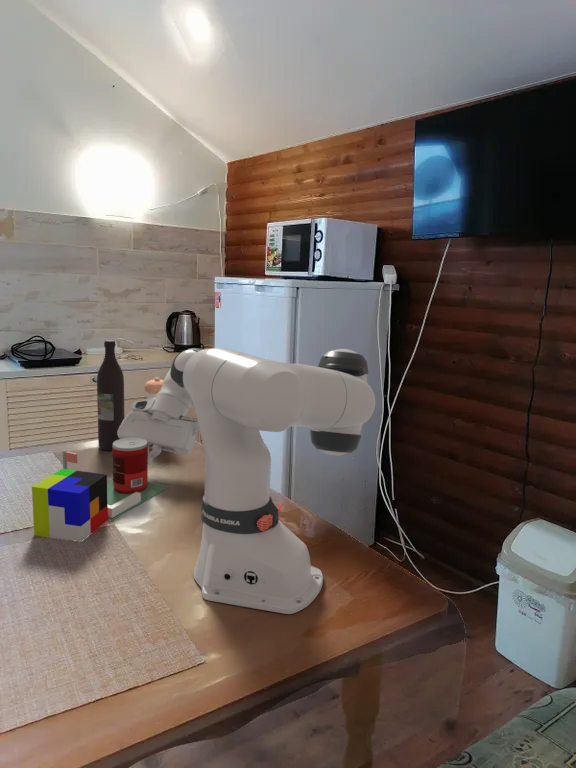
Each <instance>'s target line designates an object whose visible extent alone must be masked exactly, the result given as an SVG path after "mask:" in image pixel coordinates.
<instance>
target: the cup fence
mask: <svg viewBox="0 0 576 768" xmlns="http://www.w3.org/2000/svg"><path fill="white" fill-rule="evenodd" d="M68 462H69V463H72V464H78V454H77V453H76V452H72V451H67V449H64V450H62V469H68ZM139 502H141V493H139V492H135V493H133V494H132V495H130V496H128V497H126V498H124V499H122V500H121V501H119V502H117V503H115V504H113V505H108V504H107V505H108V517H111V518H113V517H115V516H116V515H118V514H120V513H122V512H123V511H125V510H127V509H129V508H130V507H132V506H134V505H136V504H137V503H139Z"/></svg>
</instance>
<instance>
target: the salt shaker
mask: <svg viewBox="0 0 576 768" xmlns="http://www.w3.org/2000/svg"><path fill="white" fill-rule="evenodd" d="M163 381H164V379H160V377H157V376H156V377H154V378H153V379H151V380H147V381H146V383H145V384H144V388H143V389H144V391H145V392H146V394H147V395H146V397H147V398H146V400H148V399H152V398H155V397H156V395H157V393H158V392H159V391H160V390H161V388H162V383H163Z"/></svg>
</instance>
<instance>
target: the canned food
mask: <svg viewBox="0 0 576 768" xmlns="http://www.w3.org/2000/svg"><path fill="white" fill-rule="evenodd" d="M148 452H149V449H148V444H147V441H146V440H144V439H141V438H123V439H119V440H116V441H115V442H113V446H112V451H111V453H112V454H111V455H112V456H111V457H112V479H113V487H114V490H115V491H116V492H118V493H122V494H133V493H135V492H141V491H143V490H145V489H146V487H147V484H148V482H149V480H148V479H149V478H148V477H149V476H148V475H149V472H148V470H149V469H148V468H149V467H148V465H149V464H148V454H149V453H148Z"/></svg>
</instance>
